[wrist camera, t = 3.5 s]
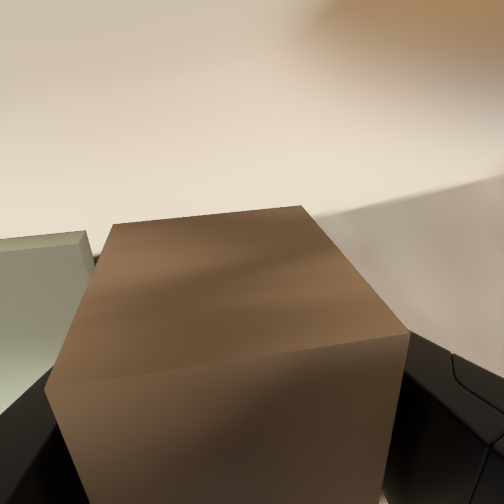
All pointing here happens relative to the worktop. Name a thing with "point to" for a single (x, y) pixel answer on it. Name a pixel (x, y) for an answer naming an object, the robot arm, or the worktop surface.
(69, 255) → the plate
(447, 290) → the worktop surface
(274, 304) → the walnut block
